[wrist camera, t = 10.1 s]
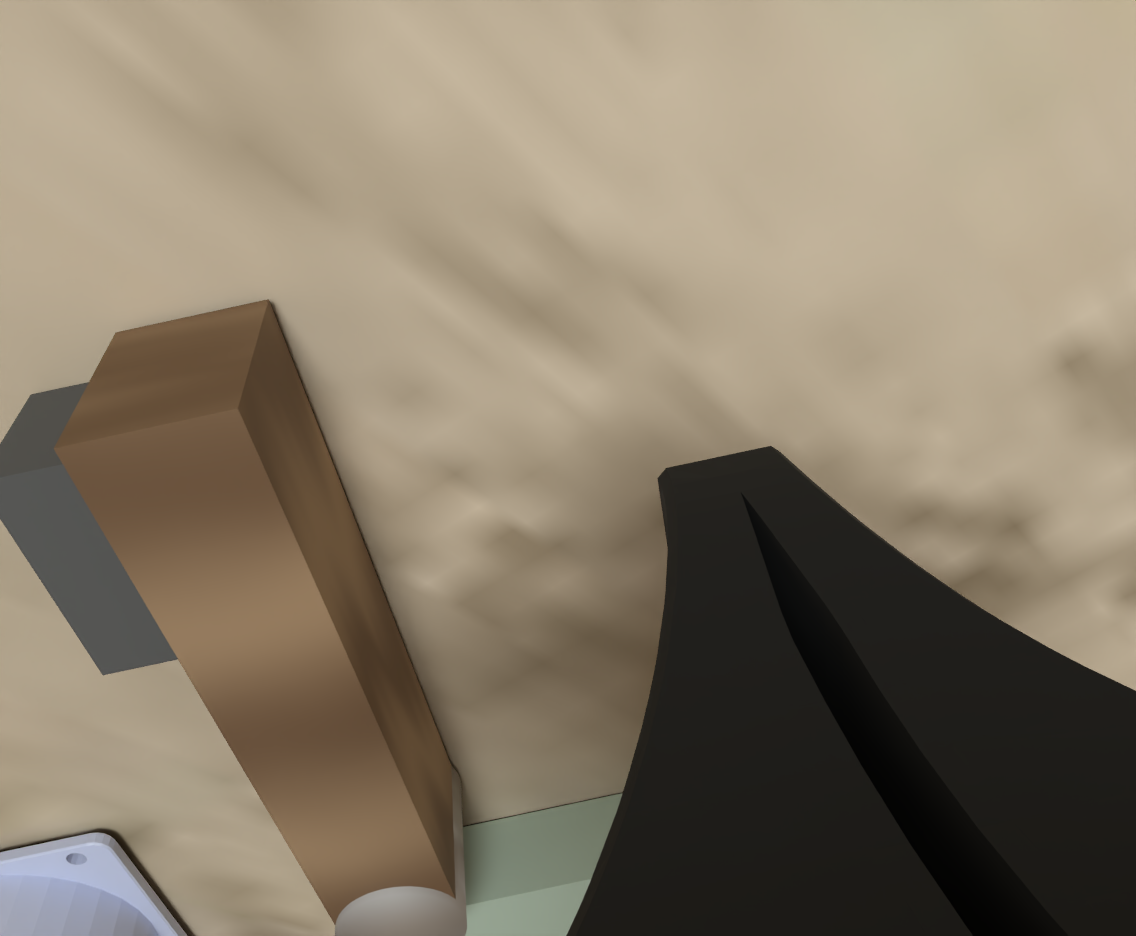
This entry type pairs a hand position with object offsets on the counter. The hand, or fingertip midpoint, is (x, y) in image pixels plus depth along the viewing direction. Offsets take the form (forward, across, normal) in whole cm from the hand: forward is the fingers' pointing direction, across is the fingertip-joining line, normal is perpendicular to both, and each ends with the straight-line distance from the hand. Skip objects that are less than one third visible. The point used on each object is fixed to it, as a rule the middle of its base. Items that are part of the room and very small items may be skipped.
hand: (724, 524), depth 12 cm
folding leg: (+9, +8, +8) cm, 15 cm away
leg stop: (+9, +11, +4) cm, 15 cm away
